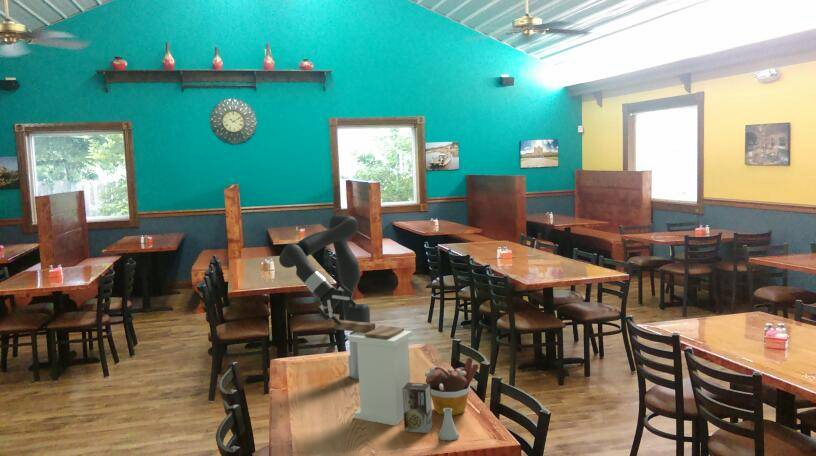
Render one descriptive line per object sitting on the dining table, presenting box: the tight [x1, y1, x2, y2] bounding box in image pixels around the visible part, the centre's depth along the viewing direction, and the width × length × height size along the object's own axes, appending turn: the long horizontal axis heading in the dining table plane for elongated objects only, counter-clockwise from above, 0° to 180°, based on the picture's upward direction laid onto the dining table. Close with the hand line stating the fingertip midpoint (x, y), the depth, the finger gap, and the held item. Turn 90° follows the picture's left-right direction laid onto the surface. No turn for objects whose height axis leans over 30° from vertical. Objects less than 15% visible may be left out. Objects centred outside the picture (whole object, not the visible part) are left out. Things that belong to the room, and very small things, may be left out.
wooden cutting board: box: [333, 319, 405, 339], centre depth 250 cm, size 27×12×3 cm, turn 61°
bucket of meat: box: [424, 356, 479, 417], centre depth 251 cm, size 20×16×20 cm
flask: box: [438, 408, 460, 442], centre depth 229 cm, size 7×7×10 cm
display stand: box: [347, 326, 413, 426], centre depth 249 cm, size 20×14×32 cm
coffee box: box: [402, 382, 434, 434], centre depth 236 cm, size 9×6×16 cm
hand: (348, 315), depth 253 cm, fingers open, 8 cm apart
